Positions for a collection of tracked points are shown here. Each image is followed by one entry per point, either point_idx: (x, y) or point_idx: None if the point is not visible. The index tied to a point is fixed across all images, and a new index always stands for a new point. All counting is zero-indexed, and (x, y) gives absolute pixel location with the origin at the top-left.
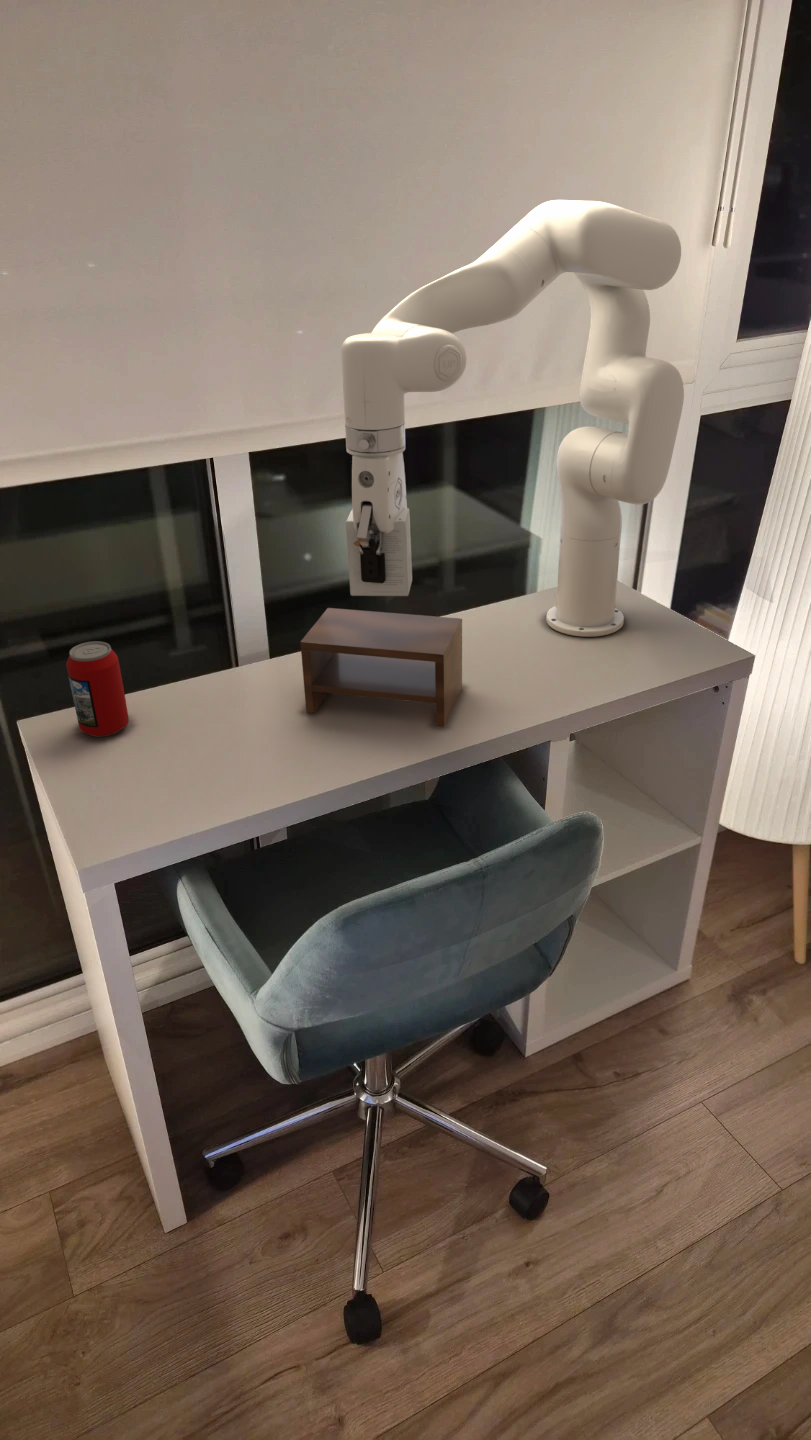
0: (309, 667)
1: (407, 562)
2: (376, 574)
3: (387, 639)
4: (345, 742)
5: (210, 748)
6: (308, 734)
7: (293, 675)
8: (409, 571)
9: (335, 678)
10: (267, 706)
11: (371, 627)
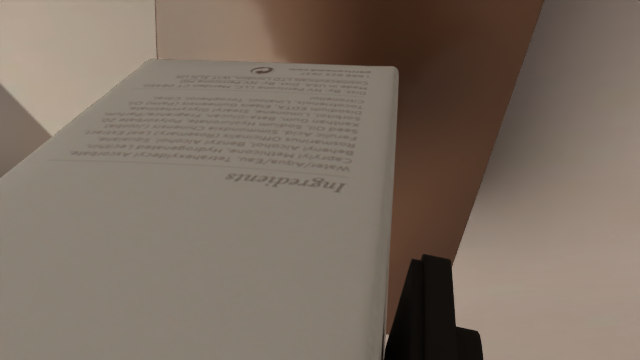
0: None
1: (368, 181)
2: (479, 346)
3: (414, 89)
4: (585, 107)
5: (565, 347)
6: (530, 191)
7: None
8: (291, 115)
9: None
10: None
11: None
